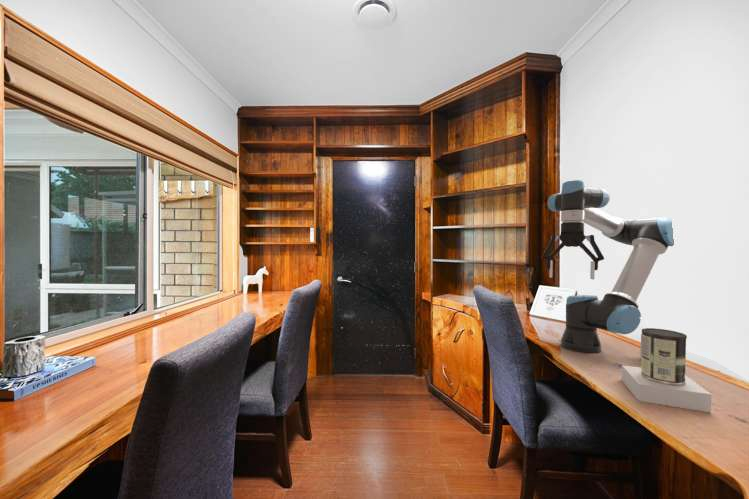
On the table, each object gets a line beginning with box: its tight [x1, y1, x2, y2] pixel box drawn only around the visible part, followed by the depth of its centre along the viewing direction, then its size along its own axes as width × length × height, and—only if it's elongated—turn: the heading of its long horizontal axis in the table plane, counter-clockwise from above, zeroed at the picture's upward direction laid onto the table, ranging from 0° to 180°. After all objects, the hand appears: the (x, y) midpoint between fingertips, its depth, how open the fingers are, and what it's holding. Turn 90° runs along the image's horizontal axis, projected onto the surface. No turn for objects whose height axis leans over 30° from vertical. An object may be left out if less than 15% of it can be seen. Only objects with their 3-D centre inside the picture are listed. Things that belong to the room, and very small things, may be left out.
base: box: [621, 364, 712, 413], centre depth 99 cm, size 16×16×5 cm
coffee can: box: [640, 327, 688, 385], centre depth 99 cm, size 10×10×14 cm
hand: (571, 278), depth 124 cm, fingers open, 13 cm apart
